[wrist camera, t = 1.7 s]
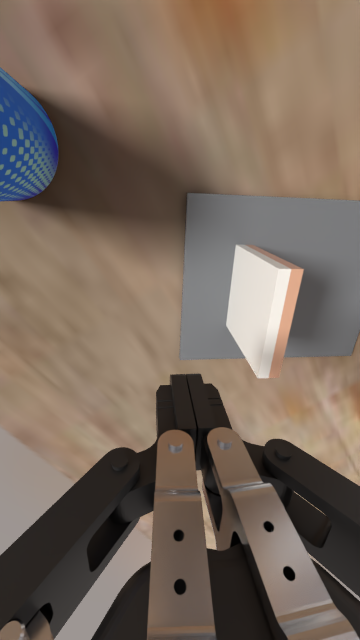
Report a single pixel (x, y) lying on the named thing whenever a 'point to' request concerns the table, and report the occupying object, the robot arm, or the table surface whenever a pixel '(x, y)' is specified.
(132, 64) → the table surface
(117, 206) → the table surface
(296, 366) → the table surface
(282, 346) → the tile
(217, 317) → the mat
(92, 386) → the table surface
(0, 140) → the beer can
